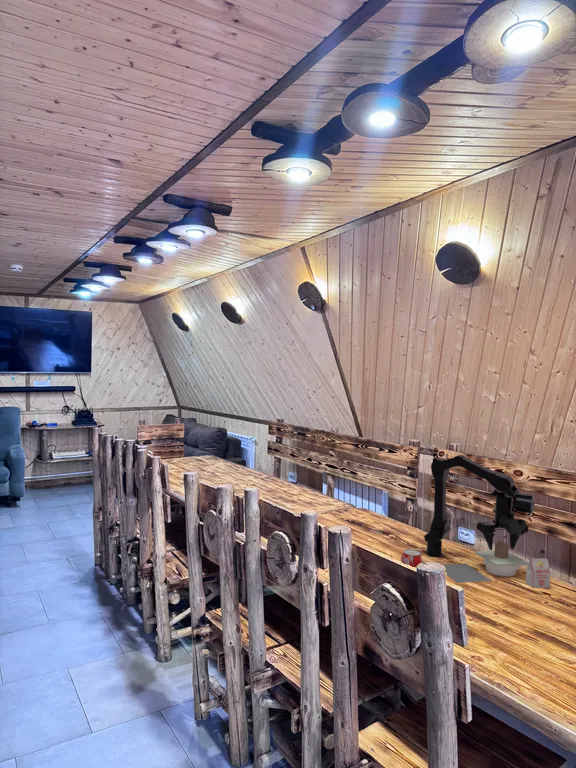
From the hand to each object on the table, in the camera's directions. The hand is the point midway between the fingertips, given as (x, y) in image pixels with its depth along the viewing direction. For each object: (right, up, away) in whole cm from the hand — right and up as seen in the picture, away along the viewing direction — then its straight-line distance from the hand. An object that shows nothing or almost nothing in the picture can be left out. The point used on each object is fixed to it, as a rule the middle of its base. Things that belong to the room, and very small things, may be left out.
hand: (501, 549), depth 194 cm
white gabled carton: (+8, -9, -12) cm, 17 cm away
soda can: (-39, -8, -17) cm, 43 cm away
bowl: (0, -9, 0) cm, 9 cm away
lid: (0, -4, 0) cm, 4 cm away
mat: (-16, -8, -3) cm, 19 cm away
